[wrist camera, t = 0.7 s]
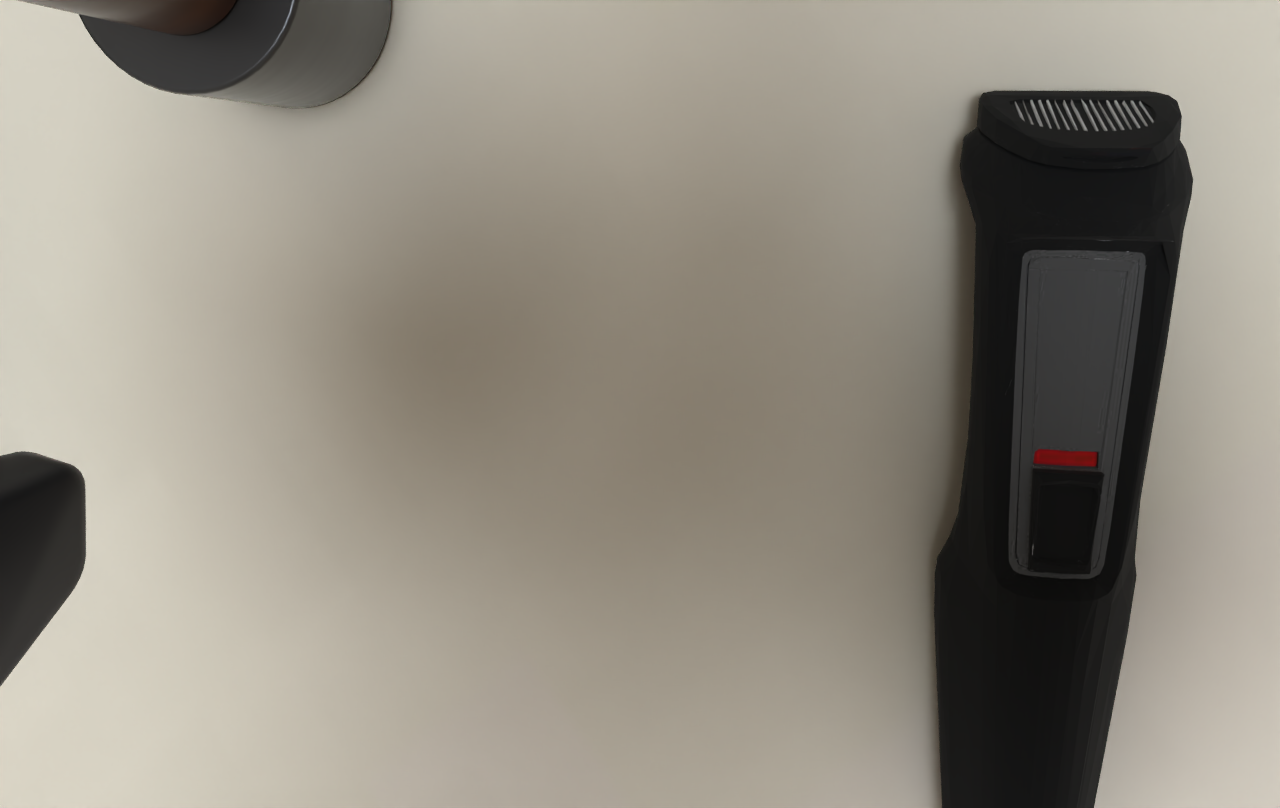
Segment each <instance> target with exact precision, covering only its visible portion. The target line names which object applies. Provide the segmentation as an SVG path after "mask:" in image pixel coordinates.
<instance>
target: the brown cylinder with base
mask: <svg viewBox="0 0 1280 808" xmlns="http://www.w3.org/2000/svg"><path fill="white" fill-rule="evenodd" d="M18 1H23V2H27V3H32V4H36V5H41V6H45V7H50V8H54V9H59V10H63V11H68V12H72V13H77V14H79V16H80V18H81V20H82V22H83V24H84V26H85V28H86V29H87V31H88V32H89V34H90V35H91V37H92V38H93V40H94V41H95V42H96V44H97V45H98V46H99V47H100V48H101V50H102V51H103V52H104V53H105V54H106V56H107V57H108V58H110V59H111V60H112V61H113V62H114V63H115V64H116V65H117V66H118V67H119V68H121V69H122V70H123V71H125V72H126V73H127V74H129V75H130V76H132V77H133V78H135V79H137V80H139V81H141V82H142V83H144V84H146V85H149V86H151V87H154V88H156V89H159V90H163V91H167V92H171V93H175V94H183V95H191V96H199V97H206V98H214V99H222V100H230V101H238V102H246V103H253V104H261V105H269V106H277V107H286V108H308V107H314V106H319V105H322V104H325V103H328V102H331V101H333V100H335V99H337V98H339V97H341V96H342V95H344V94H345V93H347V92H348V91H350V90H351V89H352V88H354V87H355V86H356V85H357V84H358V83H359V82H360V81H361V80H362V79H363V78H364V77H365V76H366V74H367V73H368V72H369V71H370V69H371V68H372V66H373V65H374V63H375V61H376V60H377V58H378V56H379V54H380V52H381V50H382V47H383V45H384V42H385V39H386V35H387V32H388V28H389V21H390V14H391V0H18Z"/></svg>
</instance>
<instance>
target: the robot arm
mask: <svg viewBox="0 0 1280 808" xmlns="http://www.w3.org/2000/svg"><path fill="white" fill-rule="evenodd" d="M85 557H86V509H85V481H84V478H83V476H82V474H81V472H80V471H79V470H78V469H77V468H76V467H74V466H73V465H71V464H68V463H65V462H62V461H58V460H55V459H52V458H49V457H46V456H43V455H40V454H37V453H32V452H15V453H11V454H7V455H2V456H0V686H1V685H2V684H3V682H4V681H5V680H6V678H7V677H8V676H9V674H10V673H11V672H12V670H13V669H14V668H15V666H16V665H17V664H18V662H19V661H20V660H21V659H22V657H23V656H24V655H25V653H26V652H27V651H28V649H29V648H30V647H31V645H32V644H33V643H34V641H35V640H36V639H37V637H38V636H39V635H40V633H41V632H42V631H43V629H44V628H45V627H46V626H47V624H48V623H49V622H50V620H51V619H52V618H53V616H54V615H55V614H56V612H57V611H58V610H59V608H60V607H61V606H62V604H63V603H64V602H65V600H66V599H67V598H68V596H69V595H70V594H71V592H72V591H73V589H74V588H75V586H76V585H77V583H78V581H79V579H80V577H81V574H82V571H83V568H84V564H85Z"/></svg>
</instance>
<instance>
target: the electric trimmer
mask: <svg viewBox="0 0 1280 808" xmlns="http://www.w3.org/2000/svg"><path fill="white" fill-rule="evenodd" d="M1181 117H1182V116H1181V112H1180V109H1179V106H1178V103H1177V101H1176V100H1175V99H1173V98H1172V97H1170V96H1169V95H1165V94H1161V93H1156V92H1149V91H992V92H987V93H983V94H982V96H981V97H980V98H979V108H978V120H977V127H976V128H975V129H974V130H972V131H971V132H970V133H968V134H967V135H966V136H965V137H964V139H963V147H962V154H961V162H960V170H961V178H962V182H963V185H964V189H965V192H966V195H967V198H968V201H969V204H970V207H971V211H972V214H973V217H974V220H975V223H976V249H975V290H974V330H973V363H972V381H971V399H970V416H969V430H968V442H967V449H966V457H965V465H964V473H963V481H962V489H961V496H960V504H959V512H958V515H957V518H956V521H955V523H954V526H953V529H952V531H951V534H950V536H949V538H948V540H947V542H946V543H945V545H944V547H943V548H942V550H941V552H940V554H939V555H938V557H937V562H936V569H935V597H934V620H935V644H936V668H937V692H938V716H939V740H940V763H941V787H942V808H1094V804H1095V798H1096V793H1097V788H1098V783H1099V778H1100V773H1101V767H1102V762H1103V757H1104V752H1105V747H1106V741H1107V736H1108V731H1109V726H1110V721H1111V716H1112V710H1113V705H1114V700H1115V695H1116V690H1117V684H1118V679H1119V674H1120V669H1121V664H1122V659H1123V653H1124V648H1125V643H1126V638H1127V633H1128V626H1129V620H1130V613H1131V607H1132V601H1133V594H1134V588H1135V581H1136V567H1135V549H1136V539H1137V528H1138V518H1139V508H1140V498H1141V492H1142V486H1143V480H1144V474H1145V468H1146V462H1147V456H1148V451H1149V445H1150V439H1151V433H1152V427H1153V421H1154V415H1155V409H1156V403H1157V398H1158V392H1159V386H1160V380H1161V374H1162V368H1163V362H1164V356H1165V350H1166V344H1167V337H1168V331H1169V324H1170V317H1171V311H1172V304H1173V297H1174V290H1175V284H1176V277H1177V270H1178V264H1179V257H1180V250H1181V243H1182V237H1183V230H1184V226H1185V221H1186V217H1187V212H1188V208H1189V204H1190V199H1191V194H1192V184H1193V177H1192V173H1191V169H1190V165H1189V161H1188V157H1187V153H1186V150H1185V148H1184V146H1183V144H1182V143H1181V141H1180V131H1181Z"/></svg>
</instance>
